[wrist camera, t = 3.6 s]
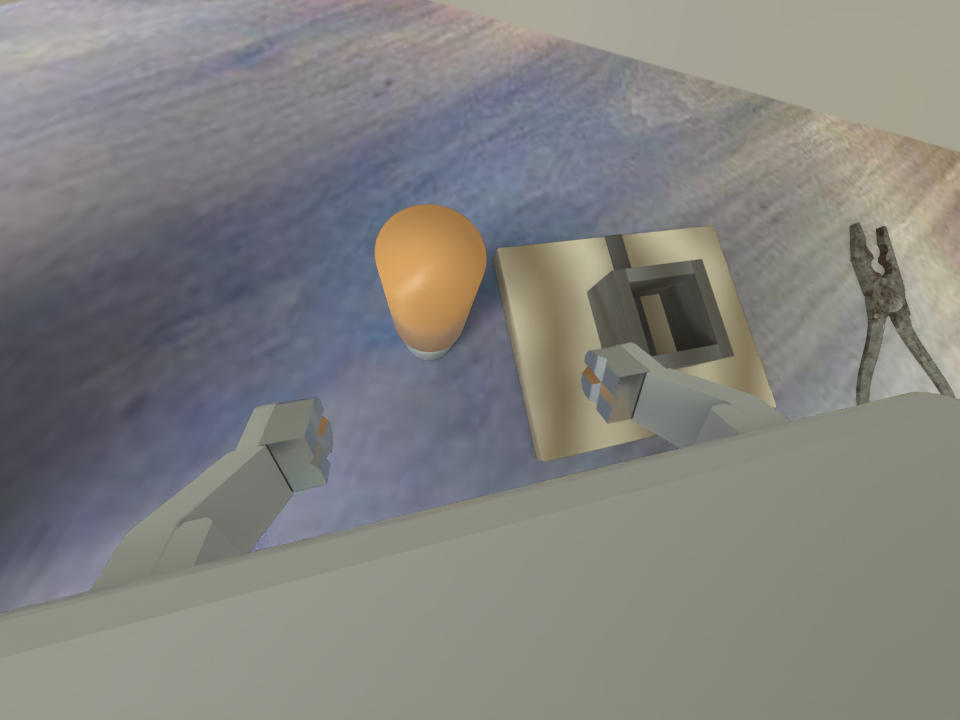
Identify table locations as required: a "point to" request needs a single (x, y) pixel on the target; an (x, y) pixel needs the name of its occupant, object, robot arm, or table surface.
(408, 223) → the orange rounded handle
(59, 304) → the table surface
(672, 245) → the cream rectangular base board
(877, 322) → the pliers
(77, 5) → the table surface
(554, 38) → the table surface
